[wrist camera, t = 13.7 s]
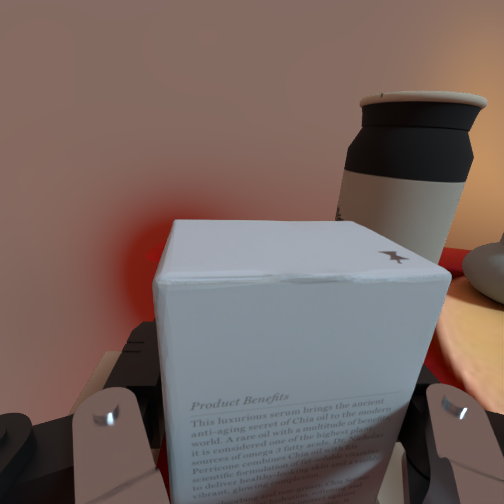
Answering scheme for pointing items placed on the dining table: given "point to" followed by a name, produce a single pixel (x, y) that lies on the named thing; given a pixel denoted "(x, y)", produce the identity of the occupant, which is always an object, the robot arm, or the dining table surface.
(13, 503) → the robot arm
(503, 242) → the air freshener
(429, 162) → the travel mug
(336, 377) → the skincare box
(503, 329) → the dining table surface
